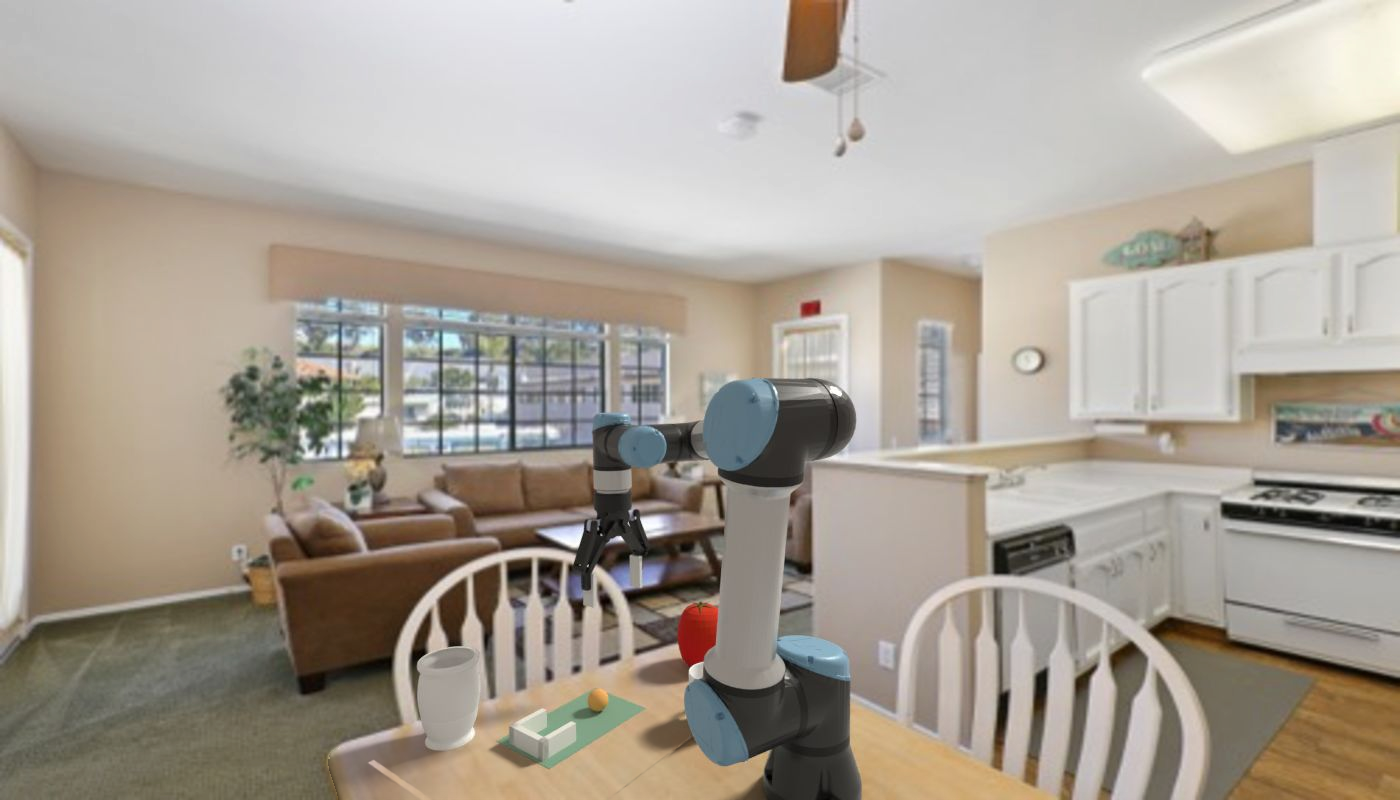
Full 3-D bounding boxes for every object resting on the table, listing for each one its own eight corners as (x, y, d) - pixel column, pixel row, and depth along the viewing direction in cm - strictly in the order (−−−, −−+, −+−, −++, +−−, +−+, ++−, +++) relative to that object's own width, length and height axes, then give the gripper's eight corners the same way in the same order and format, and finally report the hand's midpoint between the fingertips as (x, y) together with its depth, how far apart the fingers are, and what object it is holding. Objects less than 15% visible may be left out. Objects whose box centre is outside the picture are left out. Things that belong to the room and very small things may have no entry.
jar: (456, 718, 122) (454, 641, 122) (493, 733, 117) (492, 652, 116) (405, 746, 113) (403, 662, 113) (444, 764, 108) (442, 676, 107)
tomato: (708, 648, 153) (707, 590, 153) (740, 664, 144) (740, 602, 144) (665, 664, 145) (665, 602, 145) (697, 682, 136) (697, 616, 136)
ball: (612, 708, 124) (612, 688, 124) (598, 717, 121) (597, 696, 121) (598, 702, 127) (597, 683, 126) (583, 711, 123) (583, 691, 123)
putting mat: (646, 711, 124) (645, 708, 124) (549, 772, 105) (549, 768, 105) (595, 690, 133) (595, 688, 133) (496, 744, 113) (496, 741, 113)
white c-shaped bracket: (576, 741, 113) (575, 723, 113) (543, 761, 107) (542, 742, 107) (542, 725, 119) (542, 708, 118) (509, 743, 113) (509, 725, 113)
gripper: (638, 480, 140) (639, 576, 140) (551, 498, 119) (553, 610, 120) (665, 483, 135) (667, 582, 136) (580, 502, 115) (582, 619, 116)
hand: (614, 596), depth 128 cm, fingers open, 13 cm apart
